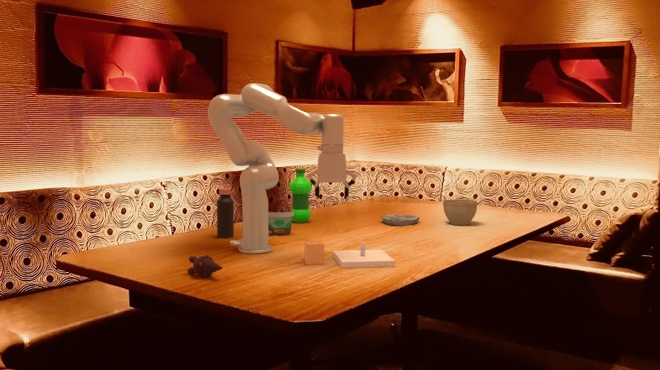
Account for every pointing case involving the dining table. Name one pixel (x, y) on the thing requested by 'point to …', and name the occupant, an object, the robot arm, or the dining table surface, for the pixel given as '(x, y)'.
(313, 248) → the orange block
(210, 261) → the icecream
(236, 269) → the dining table surface
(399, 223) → the grey stone plate
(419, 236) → the dining table surface
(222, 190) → the vinegar
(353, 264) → the post board
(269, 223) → the food container
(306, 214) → the plastic bottle
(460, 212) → the planter bowl
